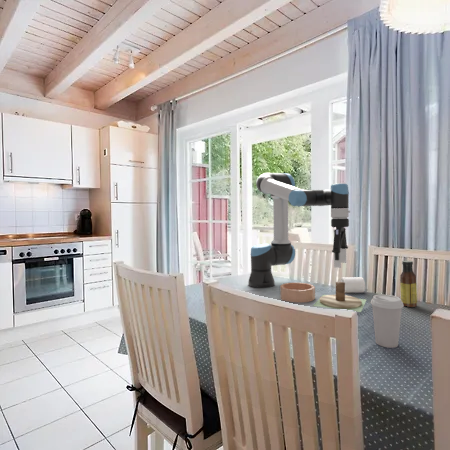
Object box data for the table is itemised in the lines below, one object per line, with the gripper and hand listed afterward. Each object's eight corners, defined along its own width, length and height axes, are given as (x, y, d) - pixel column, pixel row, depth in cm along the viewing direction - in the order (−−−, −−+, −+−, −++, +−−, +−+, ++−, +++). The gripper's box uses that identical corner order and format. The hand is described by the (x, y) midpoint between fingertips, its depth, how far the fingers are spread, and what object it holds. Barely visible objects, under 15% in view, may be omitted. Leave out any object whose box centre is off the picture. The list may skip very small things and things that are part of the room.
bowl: (287, 292, 166) (287, 281, 166) (318, 296, 158) (318, 284, 158) (276, 300, 153) (275, 288, 152) (309, 305, 144) (309, 292, 144)
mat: (323, 295, 159) (323, 294, 159) (366, 300, 149) (366, 299, 149) (312, 307, 142) (312, 305, 142) (361, 313, 132) (361, 312, 132)
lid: (324, 295, 158) (324, 276, 157) (364, 299, 149) (364, 280, 148) (315, 305, 142) (315, 285, 142) (358, 311, 133) (358, 289, 133)
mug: (365, 294, 159) (365, 279, 159) (345, 295, 160) (345, 279, 159) (356, 288, 171) (356, 274, 171) (337, 288, 172) (337, 274, 171)
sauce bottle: (415, 304, 142) (415, 260, 141) (418, 308, 136) (419, 262, 135) (398, 303, 144) (399, 259, 143) (401, 307, 139) (401, 262, 137)
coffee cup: (364, 338, 107) (364, 294, 106) (391, 336, 108) (391, 293, 107) (381, 350, 98) (381, 302, 97) (410, 348, 99) (410, 301, 98)
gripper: (343, 219, 131) (344, 270, 132) (353, 217, 152) (353, 261, 153) (325, 219, 134) (325, 269, 135) (336, 217, 156) (337, 260, 157)
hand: (340, 265), depth 144 cm, fingers open, 13 cm apart
